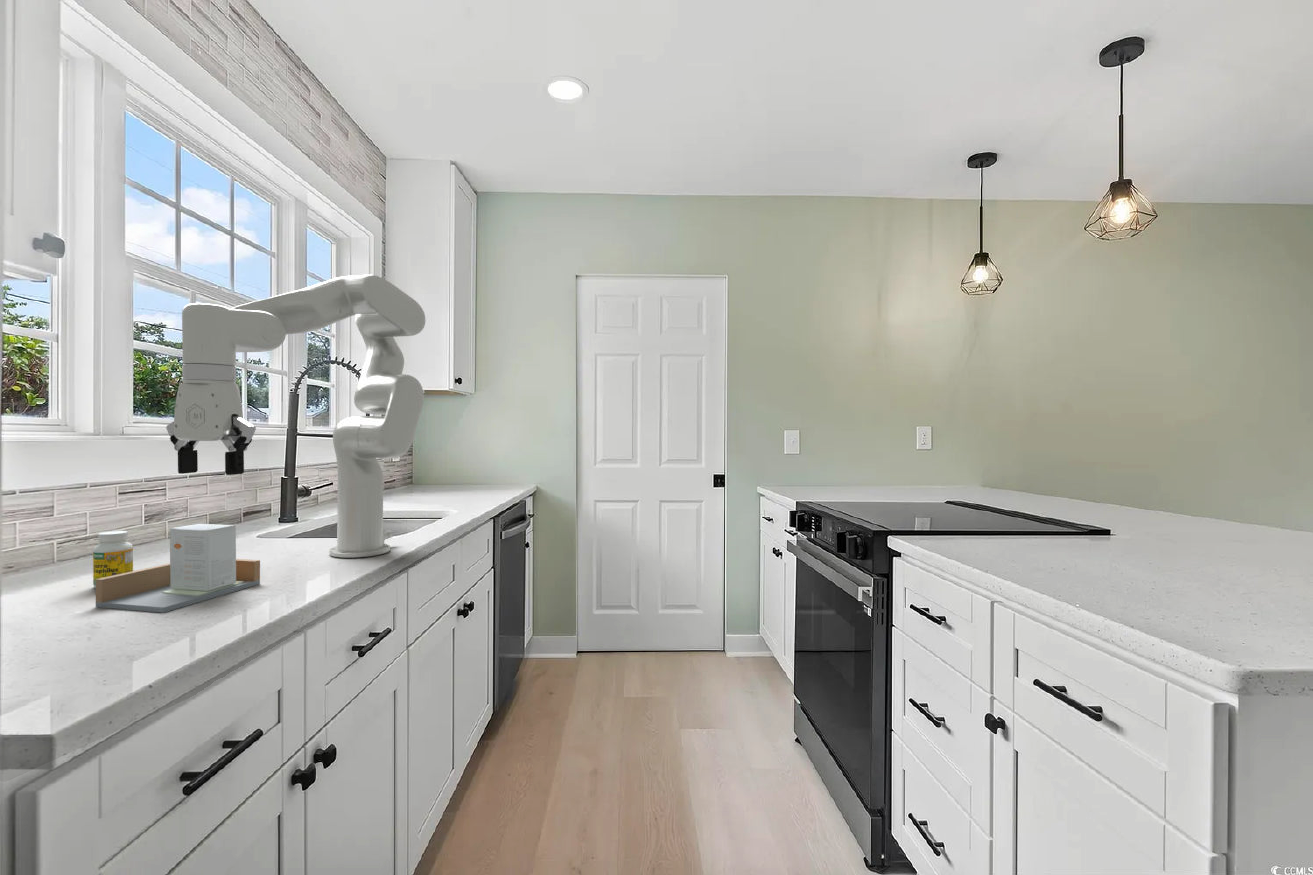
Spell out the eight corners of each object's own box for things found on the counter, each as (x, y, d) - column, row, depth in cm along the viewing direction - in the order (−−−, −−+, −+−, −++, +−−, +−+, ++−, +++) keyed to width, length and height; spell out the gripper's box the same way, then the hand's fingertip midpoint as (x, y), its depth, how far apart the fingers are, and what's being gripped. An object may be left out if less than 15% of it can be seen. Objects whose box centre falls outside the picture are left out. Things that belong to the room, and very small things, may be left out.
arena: (200, 579, 114) (200, 556, 114) (259, 583, 111) (260, 560, 111) (95, 606, 96) (95, 579, 96) (163, 612, 94) (163, 584, 94)
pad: (210, 580, 110) (210, 579, 110) (243, 582, 109) (243, 581, 109) (162, 593, 102) (162, 591, 102) (197, 595, 100) (197, 594, 100)
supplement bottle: (139, 581, 112) (139, 529, 112) (121, 588, 107) (121, 534, 107) (105, 582, 111) (105, 530, 111) (85, 590, 106) (85, 535, 106)
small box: (237, 583, 107) (237, 524, 107) (208, 592, 102) (208, 529, 102) (199, 581, 109) (199, 522, 109) (168, 588, 103) (169, 527, 103)
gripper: (147, 374, 104) (148, 474, 104) (233, 374, 101) (234, 476, 101) (188, 377, 111) (190, 470, 112) (270, 377, 108) (271, 473, 108)
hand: (211, 473), depth 106 cm, fingers open, 9 cm apart
